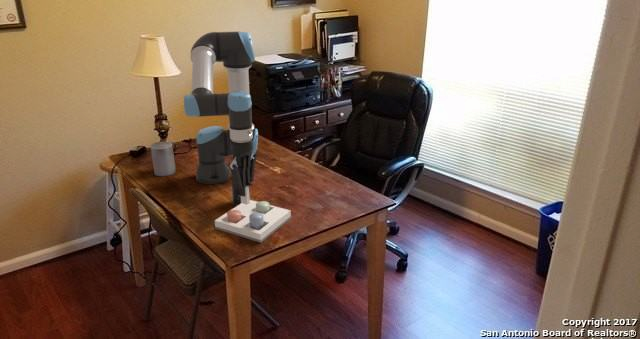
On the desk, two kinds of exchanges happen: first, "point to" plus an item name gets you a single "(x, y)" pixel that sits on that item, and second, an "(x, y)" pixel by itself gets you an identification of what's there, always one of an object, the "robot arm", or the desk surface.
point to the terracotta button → (234, 216)
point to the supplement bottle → (235, 194)
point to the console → (242, 228)
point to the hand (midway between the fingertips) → (245, 203)
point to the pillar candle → (163, 158)
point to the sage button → (262, 207)
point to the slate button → (256, 220)
